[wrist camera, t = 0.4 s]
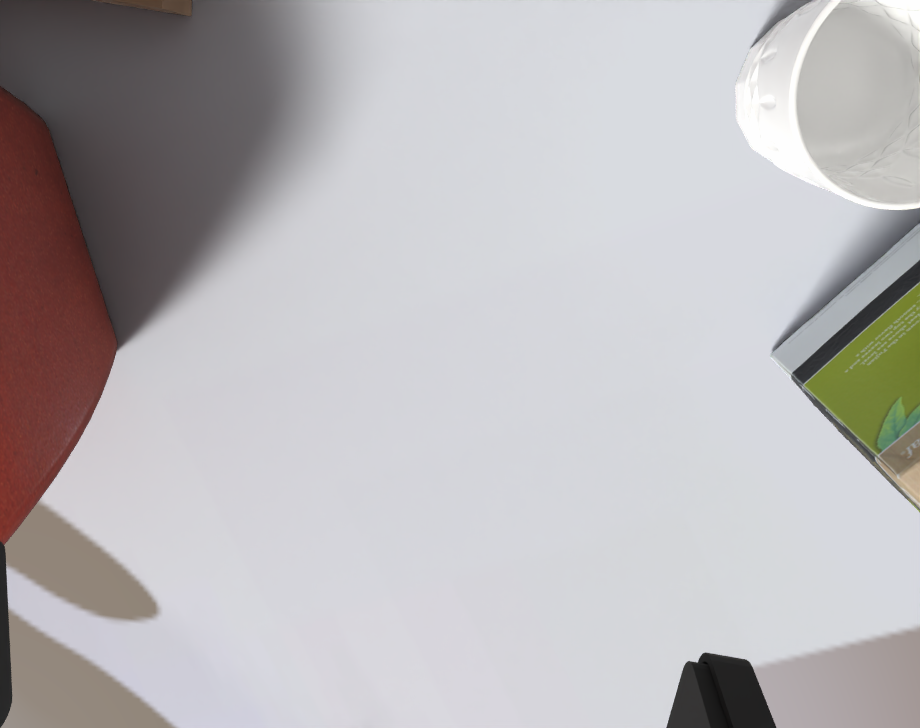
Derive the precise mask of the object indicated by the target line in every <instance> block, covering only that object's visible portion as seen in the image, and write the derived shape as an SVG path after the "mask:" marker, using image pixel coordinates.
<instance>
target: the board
mask: <svg viewBox="0 0 920 728" xmlns="http://www.w3.org/2000/svg"><path fill="white" fill-rule="evenodd" d="M93 1H99V2H105V3H111V4H118V5H124V6H130V7H136V8H142V9H149V10H155V11H161V12H167V13H173V14H180V15H186V16H191V12H192V0H93Z"/></svg>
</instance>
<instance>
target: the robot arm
mask: <svg viewBox="0 0 920 728" xmlns="http://www.w3.org/2000/svg"><path fill="white" fill-rule="evenodd" d="M8 620H9V619H8V597H7V576H6V555H5V547H4V545H3V543H2V542H1V541H0V727H1V726H2V725H3V723H4V722H5V720H6V718H7V716H8V713H9V711H10V707H11V703H12V683H11V662H10V641H9V621H8ZM667 728H776V726H775V723H774V721H773V718H772V715H771V713H770V710H769V708H768V705H767V703H766V700H765V698H764V695H763V693H762V690H761V688H760V685H759V683H758V680H757V678H756V675H755V673H754V670H753V668H752V666H751V664H750V662H749V661H747V660H745V659H739V658H734V657H728V656H722V655H717V654H711V653H703V654H702V655H701V657H700V658H699V661H698V663H696V662H691V661H688V662H687V663H686V664H685V666H684V668H683V671H682V675H681V678H680V682H679V685H678V689H677V692H676V696H675V699H674V703H673V707H672V710H671V714H670V717H669V721H668V724H667Z"/></svg>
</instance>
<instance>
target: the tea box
mask: <svg viewBox="0 0 920 728" xmlns="http://www.w3.org/2000/svg"><path fill="white" fill-rule="evenodd" d="M770 357H771V358H772V360H773V361H774V362H775V363H776V365H777V366H778V367H779V368H780V369H781V370H782V371H783V372H784V373H785V374H786V375H787V376H788V377H789V378H790V379H791V380H792V381H793V382H794V384H795V385H796V386H797V387H798V388H799V389H800V390H801V391H802V392H803V393H804V394H805V395H806V396H807V397H808V398H809V400H810V401H811V402H812V403H813V404H814V406H816V407H817V408H818V409H819V410H820V411H821V413H822V414H823V415H824V416H825V417H826V418H827V419H828V420H829V421H830V422H831V423H832V424H833V425H834V426H835V427H836V428H837V429H838V431H839V432H840V433H841V434H842V435H843V436H844V437H845V438H846V439H847V440H849V442H850V443H851V444H852V445H853V446H854V447H855V448H856V449H857V450H858V451H859V452H860V453H861V454H862V455H863V456H864V457H865V458H866V459H867V460H868V461H869V462H870V463H871V464H872V465H873V466H874V467H875V468H876V469H877V470H878V471H879V472H880V473H881V474H882V475H883V476H884V477H885V478H886V479H887V480H888V481H889V482H890V483H891V484H892V485H893V486H894V487H895V488H896V489H897V490H898V491H899V492H900V493H901V494H902V495H903V496H904V497H905V498H906V499H907V500H908V501H909V502H910V503H911V504H912V505H913V506H914V507H915V508H916V509H917V510H918V511H919V512H920V223H919V224H918V225H917V226H915V227H914V228H913V229H912V230H911V231H910V232H909V233H907V234H906V235H905V236H904V237H903V238H902V239H901V240H900V241H898V242H897V243H896V244H895V245H894V246H893V247H892V248H891V249H890V250H889V251H888V252H886V253H885V254H884V255H883V256H882V257H881V258H880V259H878V260H877V261H876V262H875V263H874V264H873V265H871V266H870V267H869V268H868V269H867V270H866V271H865V272H863V273H862V274H861V275H860V276H859V277H858V278H856V279H855V280H854V281H853V282H852V283H851V284H850V285H848V286H847V287H846V288H845V289H844V290H843V291H842V292H840V293H839V294H838V295H837V296H836V297H835V298H834V299H832V300H831V301H830V302H829V303H828V304H827V305H826V306H824V307H823V308H822V309H821V310H820V311H819V312H818V313H816V314H815V315H814V316H813V317H812V318H811V319H809V320H808V321H807V322H806V323H805V324H804V325H802V326H801V327H800V328H799V329H798V330H797V331H796V332H795V333H794V334H792V335H791V336H790V337H789V338H788V339H787V340H786V341H784V342H783V343H782V344H781V345H780V346H779V347H778V348H777V349H776V350H775V351H774V352H772V353H771V354H770Z"/></svg>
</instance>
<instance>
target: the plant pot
mask: <svg viewBox="0 0 920 728" xmlns="http://www.w3.org/2000/svg"><path fill="white" fill-rule="evenodd" d="M116 350H117V341H116V337H115V333H114V330H113V327H112V324H111V321H110V318H109V316H108V313H107V309H106V306H105V303H104V299H103V296H102V293H101V290H100V287H99V284H98V281H97V278H96V274H95V271H94V268H93V265H92V262H91V259H90V256H89V253H88V250H87V247H86V244H85V240H84V237H83V234H82V231H81V228H80V225H79V222H78V219H77V216H76V213H75V209H74V206H73V203H72V200H71V197H70V194H69V192H68V188H67V185H66V182H65V178H64V175H63V172H62V169H61V166H60V163H59V160H58V157H57V154H56V151H55V148H54V145H53V142H52V138H51V135H50V132H49V129H48V127H47V125H46V123H45V122H44V121H43V119H42V118H41V117H40V116H39V115H38V114H36V113H35V112H34V111H33V110H32V109H30V108H29V107H28V106H27V105H26V104H25V103H24V102H22V101H21V100H19V99H18V98H16V97H15V96H14V95H12V94H11V93H9V92H8V91H7V90H5V89H4V88H2V87H1V86H0V541H1V542H2V543H3V545H4V544H5V543H6V542H7V541H8V539H9V538H10V537H11V536H12V535H13V533H14V532H15V531H16V530H17V529H18V527H19V526H20V525H21V523H22V522H23V521H24V519H25V518H26V517H27V515H28V514H29V513H30V512H31V510H32V509H33V508H34V506H35V505H36V504H37V502H38V501H39V500H40V498H41V497H42V495H43V494H44V493H45V491H46V490H47V489H48V487H49V486H50V484H51V483H52V482H53V480H54V479H55V477H56V476H57V474H58V473H59V471H60V470H61V468H62V467H63V465H64V464H65V462H66V460H67V459H68V457H69V456H70V454H71V452H72V451H73V449H74V448H75V446H76V444H77V443H78V441H79V439H80V437H81V436H82V434H83V432H84V430H85V428H86V426H87V425H88V423H89V421H90V419H91V417H92V415H93V413H94V410H95V408H96V406H97V404H98V402H99V400H100V397H101V395H102V393H103V390H104V387H105V385H106V382H107V379H108V377H109V374H110V371H111V368H112V365H113V362H114V359H115V355H116Z"/></svg>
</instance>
